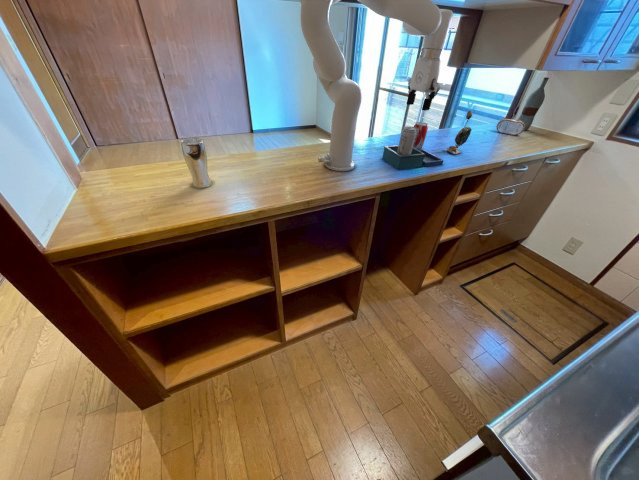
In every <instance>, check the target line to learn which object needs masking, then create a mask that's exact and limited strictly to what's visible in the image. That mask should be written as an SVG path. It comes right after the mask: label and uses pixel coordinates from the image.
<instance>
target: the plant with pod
mask: <svg viewBox="0 0 639 480" xmlns="http://www.w3.org/2000/svg"><path fill="white" fill-rule="evenodd" d="M473 113H474V112H473V111H472V110H468V111H467V113H466V115H465V120H466V122H465V125H464V127H462V128H460V130H459V131H458V132H457V133H456V135H455V138H454V142H455V144H454V145H450V146H449V147H446V148H445V151H448V152H449V153H451V154H453V155H458V154H461V153H462V150H458V149H459V148H460V146H463V145H464V144H465V143H467V141H468V139H469V137H470V135H471V133H472V127H470V126H467V124H468V122H469V120H470V119H471V118H472V117H473Z"/></svg>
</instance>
